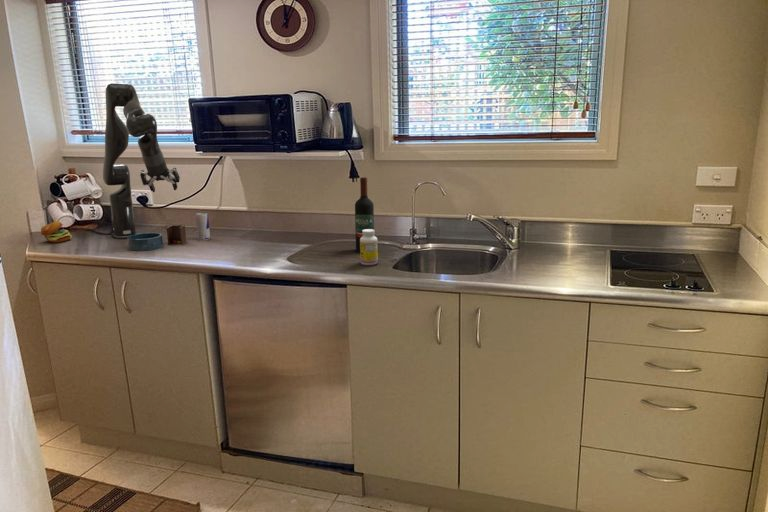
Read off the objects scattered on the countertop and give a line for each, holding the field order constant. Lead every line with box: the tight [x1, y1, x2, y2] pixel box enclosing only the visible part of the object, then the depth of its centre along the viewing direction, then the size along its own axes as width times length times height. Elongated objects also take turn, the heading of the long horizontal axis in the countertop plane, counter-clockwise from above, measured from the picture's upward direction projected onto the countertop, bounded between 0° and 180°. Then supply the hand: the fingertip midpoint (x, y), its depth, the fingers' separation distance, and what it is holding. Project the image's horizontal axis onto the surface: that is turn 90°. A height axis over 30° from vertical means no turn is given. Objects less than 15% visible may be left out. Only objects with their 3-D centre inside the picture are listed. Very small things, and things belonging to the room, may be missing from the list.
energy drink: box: [195, 212, 211, 241], centre depth 256 cm, size 5×5×12 cm
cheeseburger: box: [40, 220, 72, 244], centre depth 257 cm, size 10×11×10 cm
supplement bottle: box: [359, 229, 379, 266], centre depth 214 cm, size 7×7×13 cm
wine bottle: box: [354, 176, 375, 253], centre depth 232 cm, size 8×8×30 cm
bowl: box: [126, 232, 164, 252], centre depth 242 cm, size 14×14×6 cm
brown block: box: [166, 224, 187, 246], centre depth 249 cm, size 6×6×8 cm
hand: (164, 189), depth 237 cm, fingers open, 8 cm apart
